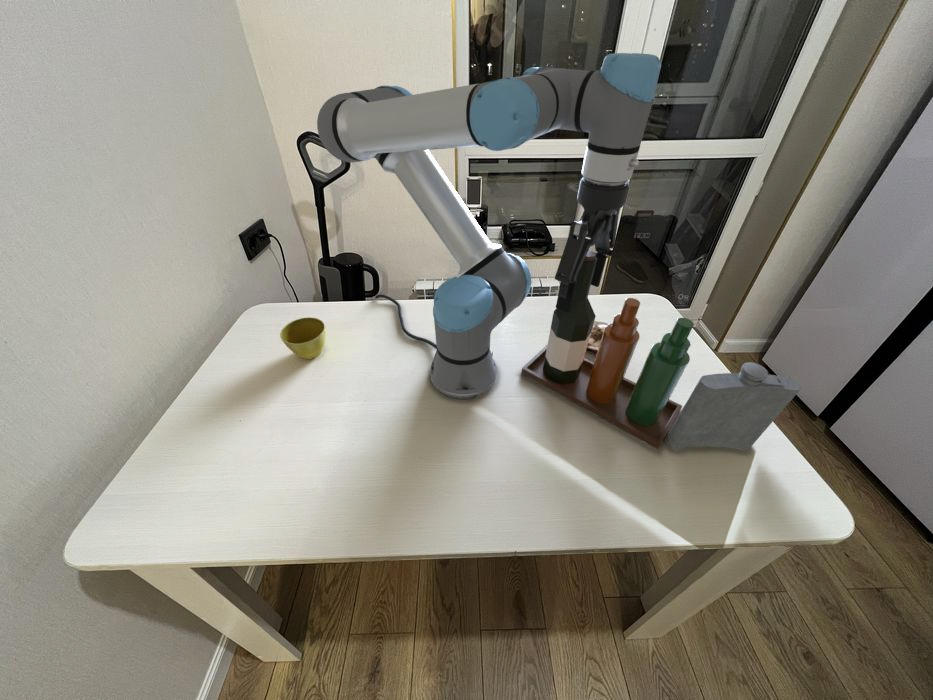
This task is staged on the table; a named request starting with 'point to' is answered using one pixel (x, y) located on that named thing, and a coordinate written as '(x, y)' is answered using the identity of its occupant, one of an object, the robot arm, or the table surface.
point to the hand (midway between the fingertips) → (578, 296)
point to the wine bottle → (571, 330)
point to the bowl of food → (595, 337)
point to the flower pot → (304, 337)
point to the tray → (606, 411)
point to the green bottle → (660, 375)
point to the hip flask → (732, 408)
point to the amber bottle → (614, 354)
